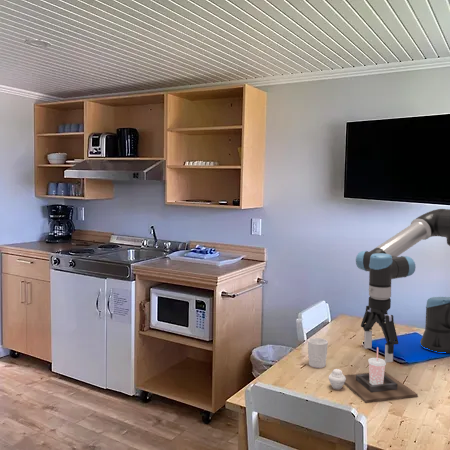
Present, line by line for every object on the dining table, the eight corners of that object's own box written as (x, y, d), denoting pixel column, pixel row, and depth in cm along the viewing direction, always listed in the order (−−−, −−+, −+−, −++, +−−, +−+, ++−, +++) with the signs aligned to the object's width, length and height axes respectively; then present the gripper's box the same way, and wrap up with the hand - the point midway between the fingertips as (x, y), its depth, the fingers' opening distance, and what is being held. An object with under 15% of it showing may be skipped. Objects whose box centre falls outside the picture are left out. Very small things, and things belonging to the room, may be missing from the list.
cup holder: (384, 373, 181) (385, 366, 181) (417, 396, 161) (417, 388, 161) (337, 378, 176) (338, 370, 176) (365, 402, 157) (366, 394, 156)
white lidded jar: (342, 392, 164) (343, 373, 164) (325, 388, 167) (326, 369, 167) (347, 386, 169) (348, 367, 169) (331, 382, 173) (332, 364, 172)
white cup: (328, 362, 192) (328, 339, 191) (325, 369, 184) (326, 345, 183) (308, 360, 194) (309, 336, 193) (305, 367, 187) (306, 342, 186)
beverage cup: (376, 389, 164) (377, 351, 163) (363, 383, 170) (365, 346, 169) (388, 386, 167) (390, 348, 166) (376, 379, 173) (377, 343, 171)
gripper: (352, 289, 177) (351, 343, 179) (390, 307, 153) (388, 369, 155) (370, 288, 179) (368, 341, 181) (410, 305, 154) (408, 367, 157)
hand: (377, 354), depth 168 cm, fingers open, 13 cm apart
